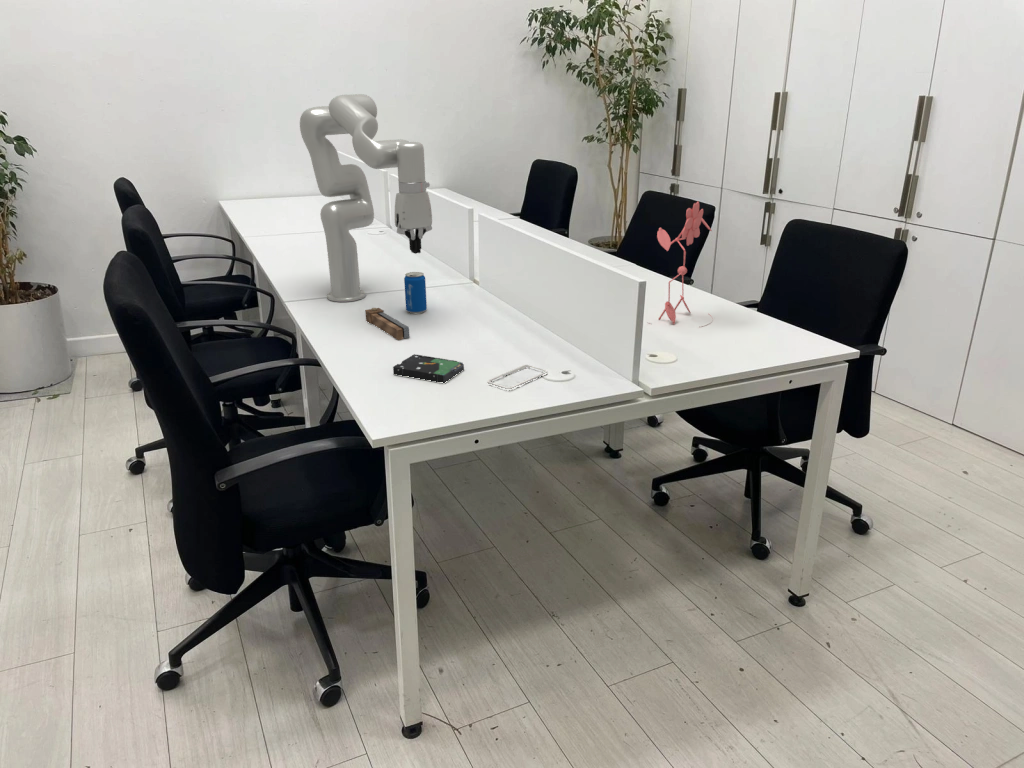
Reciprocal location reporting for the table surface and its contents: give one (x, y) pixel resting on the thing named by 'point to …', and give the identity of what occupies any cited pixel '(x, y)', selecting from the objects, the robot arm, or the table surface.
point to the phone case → (515, 371)
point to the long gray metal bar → (399, 324)
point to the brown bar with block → (383, 323)
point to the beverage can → (415, 292)
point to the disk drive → (428, 368)
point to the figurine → (690, 232)
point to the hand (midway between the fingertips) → (415, 252)
